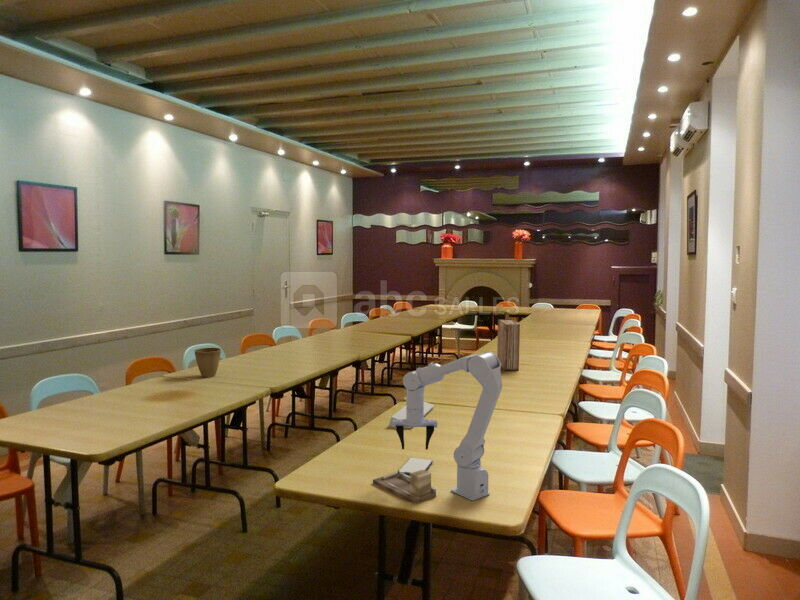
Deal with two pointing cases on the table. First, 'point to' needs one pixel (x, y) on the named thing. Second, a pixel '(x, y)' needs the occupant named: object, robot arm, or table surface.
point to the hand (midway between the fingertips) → (414, 448)
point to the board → (402, 487)
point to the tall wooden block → (508, 344)
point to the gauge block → (420, 483)
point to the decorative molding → (402, 413)
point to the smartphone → (415, 465)
